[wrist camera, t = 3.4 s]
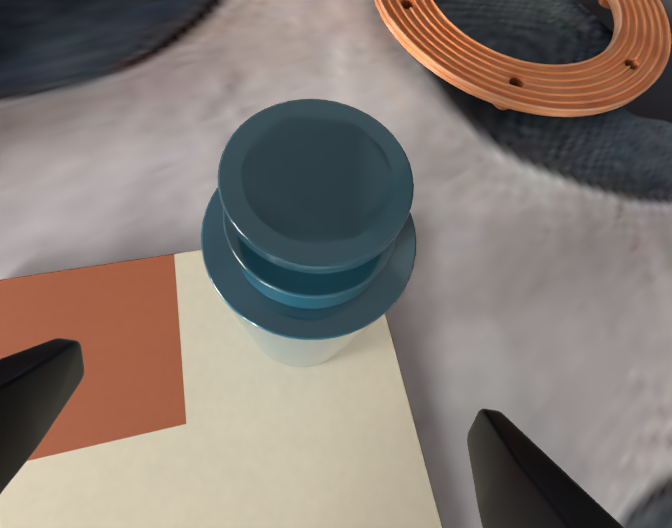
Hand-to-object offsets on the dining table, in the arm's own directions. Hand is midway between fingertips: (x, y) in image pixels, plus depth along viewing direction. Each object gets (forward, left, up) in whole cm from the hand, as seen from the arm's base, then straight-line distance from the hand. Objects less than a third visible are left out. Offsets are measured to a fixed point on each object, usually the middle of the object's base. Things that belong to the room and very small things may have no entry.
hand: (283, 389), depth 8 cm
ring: (+27, -24, -11) cm, 38 cm away
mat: (-1, +4, -11) cm, 12 cm away
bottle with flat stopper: (+4, -1, -11) cm, 12 cm away
